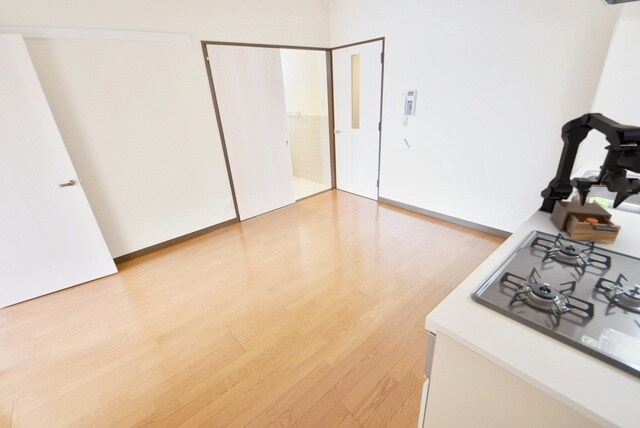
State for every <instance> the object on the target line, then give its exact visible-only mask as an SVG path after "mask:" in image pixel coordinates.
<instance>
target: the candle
mask: <svg viewBox="0 0 640 428" xmlns="http://www.w3.org/2000/svg"><path fill="white" fill-rule="evenodd" d="M570 202H580V197H579V194H576V195H573V196H572V197H571V200H570ZM585 203H590V198H589V197H588V196H587V198H586V201H585Z"/></svg>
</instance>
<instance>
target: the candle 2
mask: <svg viewBox="0 0 640 428" xmlns="http://www.w3.org/2000/svg"><path fill="white" fill-rule="evenodd" d="M591 203H597V204H598V205H600V206H601V207H602V208H603V209H605V210H606V211H607V209H608V207H609V205H610V203H609V201H608V200H607V199H604V198H602V197H597V196H596V197H594V198H593V200H592V202H591Z"/></svg>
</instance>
